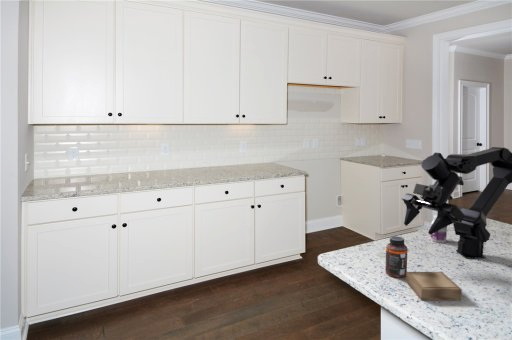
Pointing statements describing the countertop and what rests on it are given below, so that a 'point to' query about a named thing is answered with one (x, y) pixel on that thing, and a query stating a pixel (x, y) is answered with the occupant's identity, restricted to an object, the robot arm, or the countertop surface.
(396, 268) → the supplement bottle
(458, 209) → the robot arm
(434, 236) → the pill bottle
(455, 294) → the walnut plinth
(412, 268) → the countertop surface
